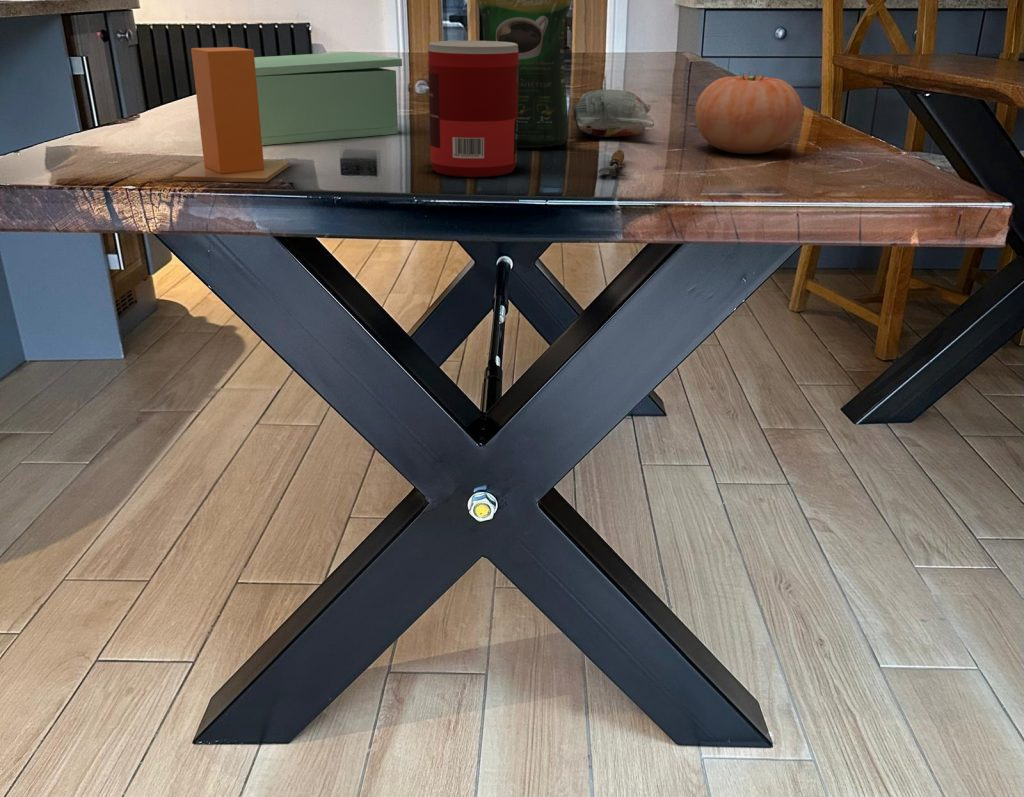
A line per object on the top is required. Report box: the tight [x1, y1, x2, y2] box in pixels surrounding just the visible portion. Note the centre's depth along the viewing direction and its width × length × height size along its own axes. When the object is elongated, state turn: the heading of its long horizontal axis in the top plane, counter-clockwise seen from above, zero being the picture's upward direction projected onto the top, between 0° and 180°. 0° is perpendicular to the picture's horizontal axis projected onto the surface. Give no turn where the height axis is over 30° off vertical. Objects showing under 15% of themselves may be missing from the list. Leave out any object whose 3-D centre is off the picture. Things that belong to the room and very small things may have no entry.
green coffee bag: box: [476, 0, 572, 149], centre depth 99 cm, size 10×8×19 cm
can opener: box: [598, 149, 627, 177], centre depth 88 cm, size 9×2×1 cm, turn 164°
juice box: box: [190, 46, 265, 174], centre depth 83 cm, size 4×4×10 cm
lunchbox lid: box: [254, 51, 403, 76], centre depth 105 cm, size 17×12×1 cm, turn 126°
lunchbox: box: [256, 67, 399, 146], centre depth 106 cm, size 17×12×7 cm
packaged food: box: [573, 88, 655, 138], centre depth 108 cm, size 9×12×5 cm
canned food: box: [427, 40, 519, 178], centre depth 86 cm, size 8×8×11 cm
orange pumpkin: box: [694, 71, 803, 155], centre depth 98 cm, size 11×11×8 cm
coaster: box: [172, 159, 290, 183], centre depth 85 cm, size 8×8×1 cm
